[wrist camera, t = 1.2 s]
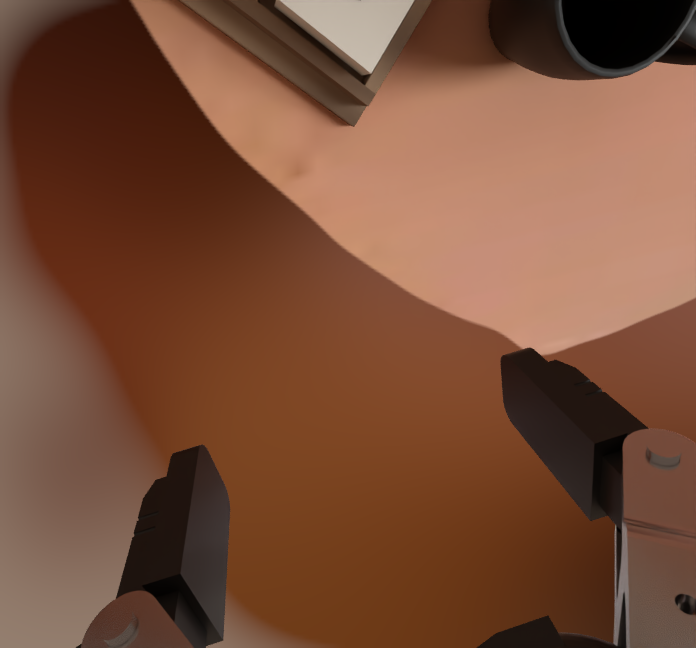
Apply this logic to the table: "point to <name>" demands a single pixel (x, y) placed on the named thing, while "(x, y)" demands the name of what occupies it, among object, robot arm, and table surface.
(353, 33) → the tile one
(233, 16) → the board
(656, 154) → the table surface
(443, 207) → the table surface
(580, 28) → the mug
